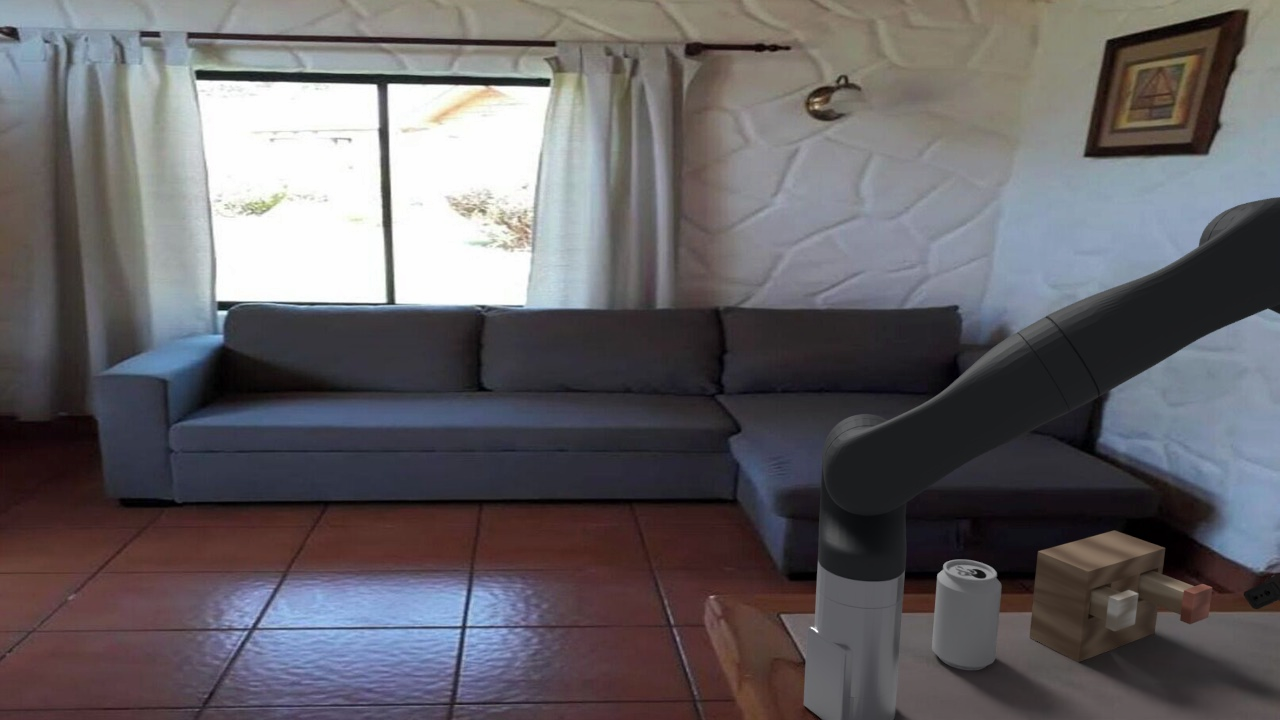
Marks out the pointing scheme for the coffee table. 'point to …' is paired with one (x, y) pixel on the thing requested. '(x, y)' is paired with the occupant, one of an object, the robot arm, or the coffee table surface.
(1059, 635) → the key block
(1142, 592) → the key red
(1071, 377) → the robot arm
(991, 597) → the can
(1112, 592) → the key cream
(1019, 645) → the coffee table surface
